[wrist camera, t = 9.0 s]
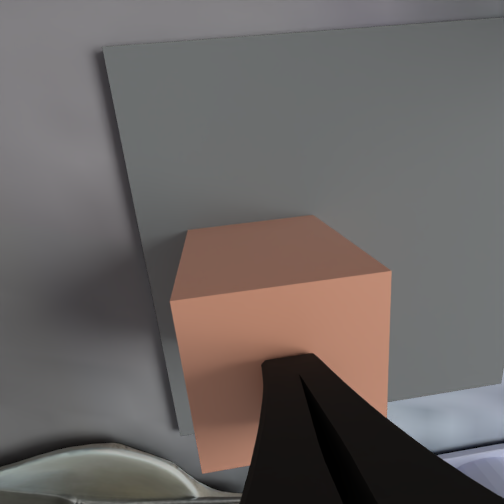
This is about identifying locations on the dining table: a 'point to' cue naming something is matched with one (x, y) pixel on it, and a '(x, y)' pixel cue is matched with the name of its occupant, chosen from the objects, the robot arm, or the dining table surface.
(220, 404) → the peach foam cube
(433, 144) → the mat
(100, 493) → the salad plate
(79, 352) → the dining table surface
